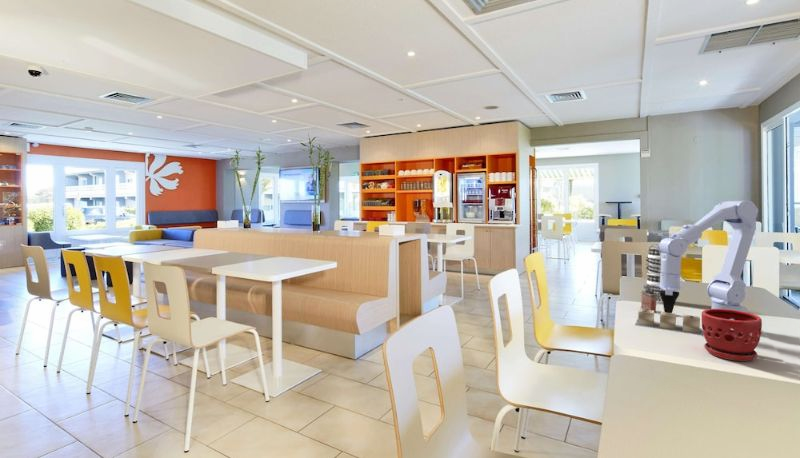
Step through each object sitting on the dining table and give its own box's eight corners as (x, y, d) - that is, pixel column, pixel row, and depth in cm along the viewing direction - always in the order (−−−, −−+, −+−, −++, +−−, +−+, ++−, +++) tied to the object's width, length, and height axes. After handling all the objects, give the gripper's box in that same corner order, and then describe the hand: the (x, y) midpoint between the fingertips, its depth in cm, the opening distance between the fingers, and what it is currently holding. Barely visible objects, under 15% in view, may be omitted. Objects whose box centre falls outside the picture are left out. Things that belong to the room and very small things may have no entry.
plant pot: (701, 344, 125) (703, 305, 124) (758, 354, 116) (761, 313, 116) (698, 356, 115) (700, 314, 114) (760, 368, 106) (763, 323, 106)
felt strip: (701, 329, 140) (701, 328, 140) (702, 336, 133) (702, 335, 132) (637, 320, 151) (637, 319, 151) (634, 326, 143) (634, 325, 143)
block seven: (653, 323, 146) (654, 310, 146) (652, 326, 142) (653, 313, 142) (639, 321, 148) (639, 308, 148) (637, 324, 145) (638, 311, 144)
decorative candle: (639, 299, 186) (641, 244, 185) (655, 297, 189) (657, 243, 188) (657, 303, 178) (660, 246, 176) (673, 302, 180) (676, 245, 179)
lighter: (658, 313, 161) (659, 288, 160) (649, 313, 161) (650, 288, 160) (646, 308, 169) (647, 284, 168) (638, 308, 169) (639, 284, 168)
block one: (698, 329, 138) (699, 316, 138) (699, 333, 135) (700, 319, 134) (682, 327, 141) (683, 314, 141) (682, 330, 137) (683, 317, 137)
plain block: (675, 326, 142) (676, 313, 142) (675, 329, 138) (676, 316, 138) (660, 324, 145) (660, 311, 144) (659, 327, 141) (660, 314, 141)
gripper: (657, 269, 149) (655, 306, 149) (655, 274, 137) (653, 315, 138) (681, 271, 145) (679, 309, 146) (681, 277, 133) (678, 318, 134)
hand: (668, 312), depth 141 cm, fingers closed
